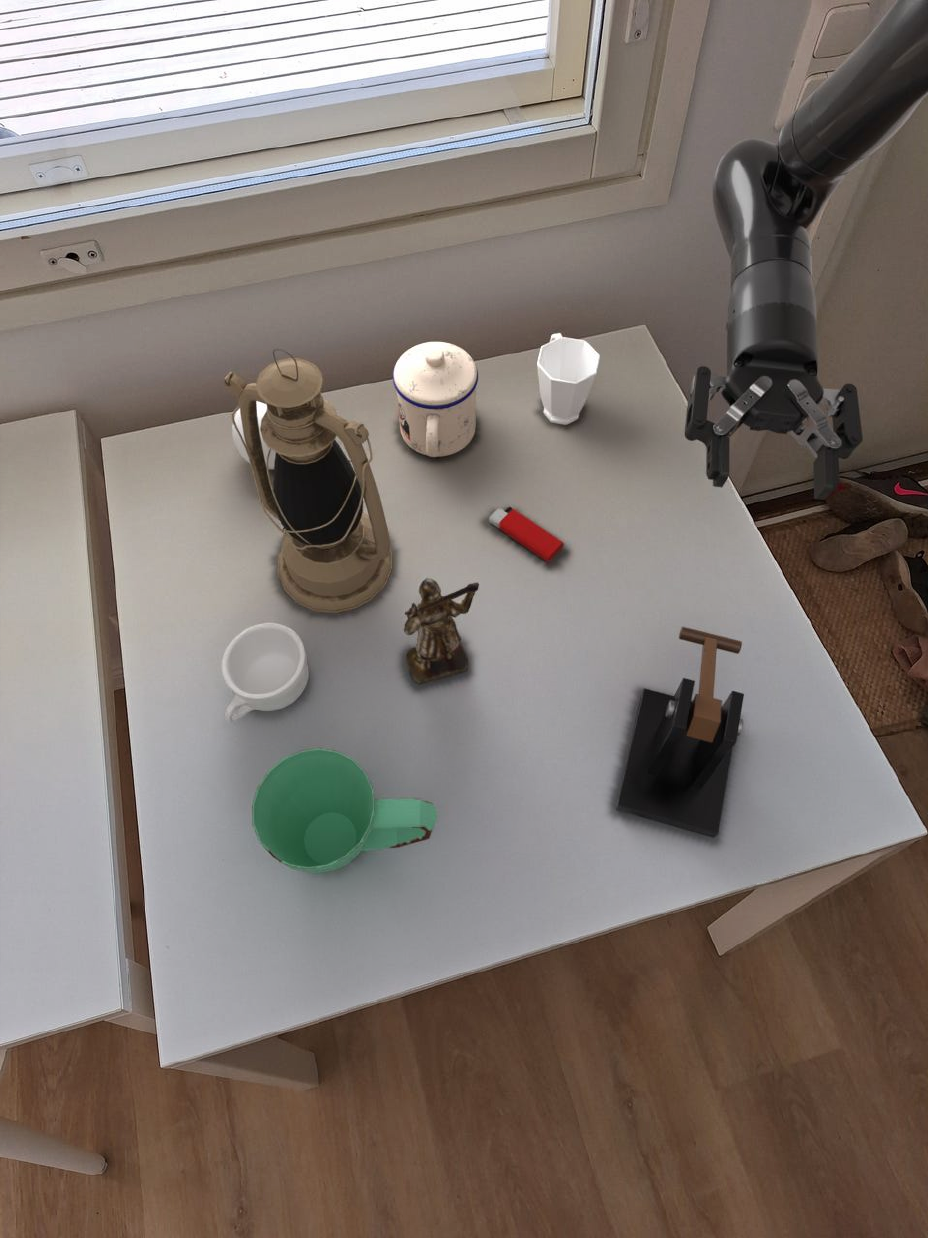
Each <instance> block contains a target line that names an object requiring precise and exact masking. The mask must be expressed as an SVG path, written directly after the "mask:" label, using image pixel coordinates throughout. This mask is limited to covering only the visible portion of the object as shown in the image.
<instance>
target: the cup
mask: <svg viewBox="0 0 928 1238" xmlns="http://www.w3.org/2000/svg"><path fill="white" fill-rule="evenodd" d="M600 359H601V355H600V354H599V353H598V352H597V350H595V349H594V348H593V346H592V345H591V344H590V343H589V342H588V341H587V340H586V339H579V338H573V337H565V336H563V335H562V333H561V332H558V333H553V334H551V336H550V340H549V342H548V343H545V344H543V345H541V346H540V351H539V354H538V357H537V362H536V368H537V369H536V370H537V378H538V387H539V395H540V399H541V403H542V407H544V408H543V411H542V412H543V415H544V416H545V417H546V418H547V419H548V420H549V421H550V423H553V424H559V425H564V426H566V425H569V424H571V423H573V422H575V421H577V420H579V416H580V413H581V411H582V409H583V408H584V406H585V404H586V402H587V399H588V397H589V395H590V391H591V389H592V387H593V383H594V381H595V379H596V376H597V374H598V370H599V369H598V367H599V363H600Z"/></svg>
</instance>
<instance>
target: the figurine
mask: <svg viewBox="0 0 928 1238" xmlns="http://www.w3.org/2000/svg"><path fill="white" fill-rule="evenodd" d="M479 586H480V583H479V582H476V581H475V582H472V583H468V584H467V585H466V586H464V587H463V588H460V589H458V590H456V591H454V592H452V593H449V594H447V595H446V594H445V595H442V590H441V587H440V585H439V583H438V582H437V581H436V580H434V579H433V578H429V577H426V578H425V579H423V580H422V581H421V583H420V585H419V587H418V594H419V595H420V597H421V601H420V603H418V604H416V603H415V602H412V603H411V607H410V608H409V609H408V610H406V611H405V612H404V616H406V618H407V619H406V621H405V622H404V625H403V626H404V627H403V632H404V634H405V635H406V636H412V635H414V634H415V633H417V635H416V636H417V637H416V645H415V647H413V648H412V647H411V648H410V649H408V650H407V653H406V659H405V660H406V666H407V669H408V674H409V675H410V676H411V678H412V680H413V681H414V683H416V684H417V685H423V684H426V683H429V682H432V681H436V680H438V679H443V678H445V677H449V676H452V675H456V674H458V673H463V672H465V671H467V669H468V665H469V659H468V654H467V652H466V650H465V647H464V645H463V643H462V642H461V641H462V637H461V634H460V632H459V630H458V628H457V624H456V621H455V619H456V618H457V617H459V616H460V615H466V614H468V612H469V611H470V608H471V606H472V603H473V600H474V597H475V594H476V592H477V591H478V590H479ZM463 595H465V597H463V599H462V600H461V602H456V601H454V600H455V599H457V598H459V597H461V596H463Z"/></svg>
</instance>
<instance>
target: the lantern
mask: <svg viewBox="0 0 928 1238" xmlns="http://www.w3.org/2000/svg"><path fill="white" fill-rule="evenodd" d="M276 351H280V352H283V353H284V354H287V355H288V356H290V357H288V358H282V359H278V360H277V358H276V355H275V352H276ZM272 356H273V359H274V360H273V361H274V362H271V363H269V364H268V365H267V366H265V368H263V369H262V370H261V371H260V373H259V375H258V377H257V379H256V382H253V383H252V382H251V383H247V382H246V381H245V380H243V379H242V378H241V377H239V376H238V375H237V374H235V372H234V371H230V372H229V373H228V374H226V376H224V377H225V378H224V379H223V380H222V384H223V386H224V387H225V389H226V390H227V391H228V392H229V393H231V395H233V396H234V397H236V398H237V406H236V408H235V409H234V410H233V411H232V412H231V422H232V425H233V424H234V427H235V429H236V431H237V433H238V435H239V437H240V439H241V441H242V443H243V445H244V447H245V449H246V452H247V455H248V457H249V461H250V463H249V465H250V468H251V473H252V475H253V480H254V482H255V487H256V492H257V494H258V500H259V504H260V507H261V509H262V511H263V513H264V514H265V515H266V517H267V518H268V520H269V521H270V522H271V523H272V524H273V525H274V526H275V528H277V530H279V531H280V532H281V533H282V534H283V536H282V540H281V541H282V542H281V544H282V545H281V551H280V553H279V555H278V563H277V564H278V567H277V575H278V578H279V580H280V582H281V586H282V588H283V590H284V592H285V593H286V594H287V595H288V596H289V597H290V598H291V599H292V600H293V601H294V602H295V603H296V604H297V605H300V606H302V607H304V608H305V609H309V610H311V611H312V612H318V613H328V614H339V613H342V612H347V611H353V610H356V609H358V608H359V607H361V606H364V605H365V604H366V603H369V602H371V601H372V600H374V598H375V597H376V596H377V595H378V594H379V593H380V592H381V591H382V590H383V589H384V587H386V585H387V583H388V580H389V577H390V575H391V572H392V570H393V552H392V548H391V539H390V535H389V528H388V525H387V524H388V523H387V520H386V517H385V516H386V515H385V512H384V507H383V504H382V500H381V497H380V493H379V489H378V486H377V481H376V479H375V476H374V473H373V470H372V468H371V465H370V463H372V461H373V459H374V458H373V456H374V454H373V449H372V444H371V441H370V438H369V437H370V433H369V430H368V428H367V427H365V424H364V423H363V422H356V421H352V422H349V421H348V420H347V419H346V418H344V417H343V416H341V415H339V414H338V410H337V409H336V408H335V406H334V405H333V404H332V403H331V402H330V401H328V400H326V399H324V397H323V395H322V392H321V389H322V387H323V375H322V372H321V370H320V368H319V367H317V365H315V364H314V363H313V362H311V361H309V360H306V359H305V358H304V359H303V358H297V357H294V356H293V355H292V354H291V353H289V352H288V351H286V350H284V349H281V348H274V349H273V350H272ZM257 401H258V402H261V403H264V404H266V406H267V410H266V413H265V414H264V416H263V418H262V420H261V427H260V431H261V435H262V438H263V441H264V442H265V443H266V445H267V446H268V447H269V448H270V450H269V453H268V456H267V463H265V459H264V454H263V449H262V443H261V438H260V432H259V425H258V418H257ZM239 409H240V415H241V421H242V427H243V433H244V438H245V442H244V440H243V438H242V436H241V434H240V432H239V430H238V428H237V426H236V423H235V421H234V417H235V415H236V413H237V411H238V410H239ZM336 438H338V439H339V440H340V441H341V443H342V445H343V446H344V449H345V451H346V453H347V455H346V453H345V452H344V451H343V449H342V447H341V445H340V443H338V441H337V440H336ZM366 442H367V444H368V445H367V446H368V450H369V453H370V455H369V457H370V458H368V456H367V452H366V451H365V448H364V446H363V444H364V443H366ZM245 443H246V444H245ZM271 449H272V450H273V451H275V452H276V454H275V463H274V470H273V482H272V481H271V477H270V469H268V459H269V455H270V452H271ZM347 456H348V457H347ZM348 458H349V459H348ZM266 466H267V467H266ZM364 504H365V508H366V511H367V514H366V513H365V512H364ZM269 514H270V515H272V516H273V517H274V518H275V519H276V520H278V521H279V522H280V525H282V527H283V528H281V527H280V526H279V525H278V524H277V523H276V522H275V521H274V519H272V517H271V516H270V515H269Z"/></svg>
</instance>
